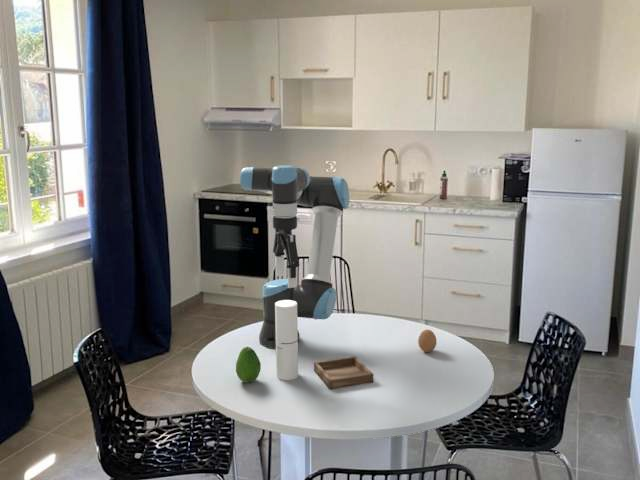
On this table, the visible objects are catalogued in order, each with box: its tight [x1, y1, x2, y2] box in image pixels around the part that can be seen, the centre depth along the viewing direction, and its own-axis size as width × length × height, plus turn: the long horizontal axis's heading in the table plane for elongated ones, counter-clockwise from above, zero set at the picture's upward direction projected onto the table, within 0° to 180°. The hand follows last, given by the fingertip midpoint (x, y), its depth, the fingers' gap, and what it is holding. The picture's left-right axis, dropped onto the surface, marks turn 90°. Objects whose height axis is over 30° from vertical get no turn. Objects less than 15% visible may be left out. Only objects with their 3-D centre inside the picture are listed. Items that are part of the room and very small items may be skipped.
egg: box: [417, 329, 437, 353], centre depth 232 cm, size 6×6×8 cm
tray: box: [313, 355, 374, 391], centre depth 213 cm, size 15×15×3 cm
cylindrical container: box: [275, 300, 299, 381], centre depth 211 cm, size 7×7×25 cm
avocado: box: [235, 346, 261, 384], centre depth 208 cm, size 8×8×12 cm
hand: (285, 281), depth 206 cm, fingers open, 13 cm apart
